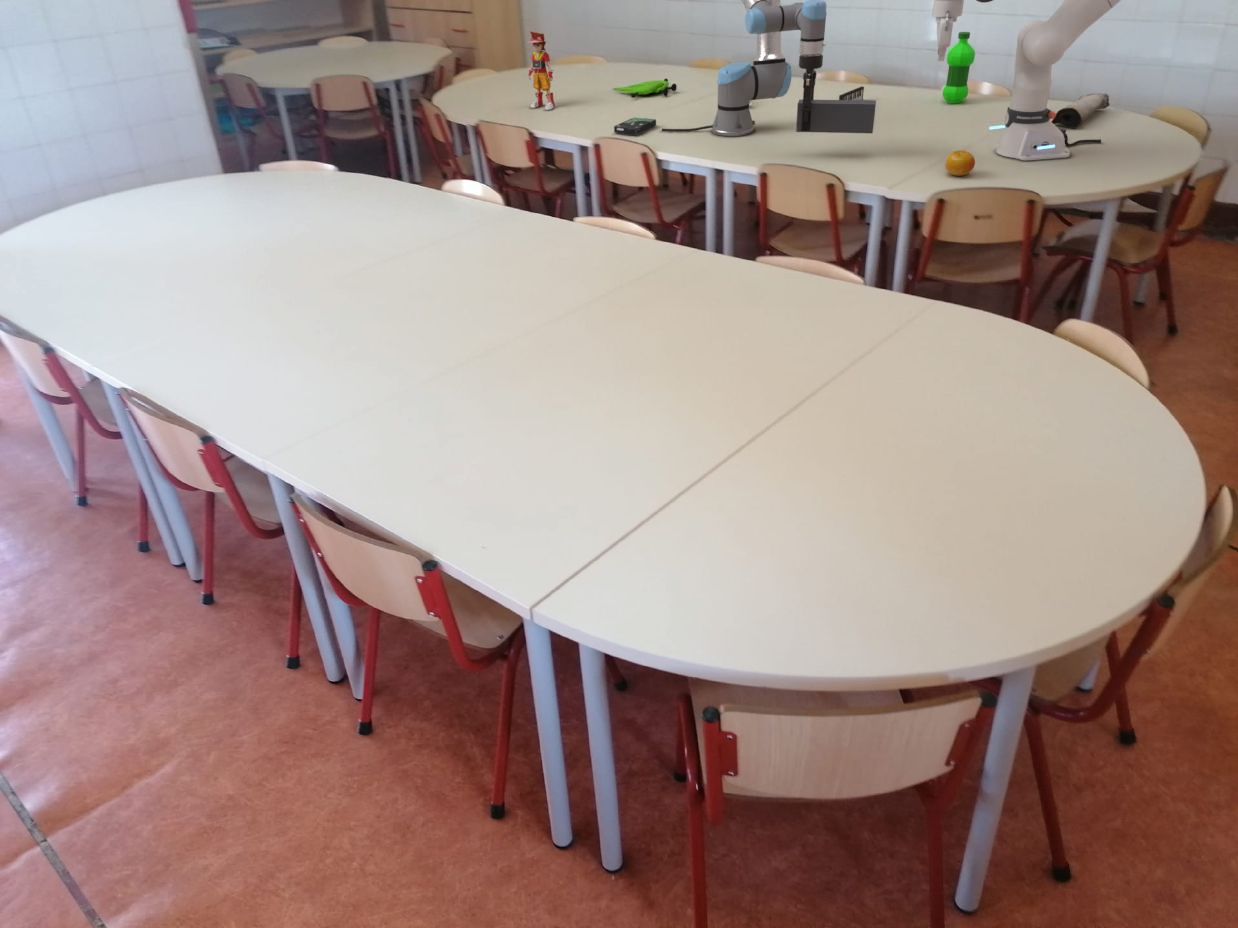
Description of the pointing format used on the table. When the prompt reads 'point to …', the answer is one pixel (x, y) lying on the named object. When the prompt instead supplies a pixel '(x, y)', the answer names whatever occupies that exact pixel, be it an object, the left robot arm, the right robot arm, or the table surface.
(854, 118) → the bar
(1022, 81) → the right robot arm
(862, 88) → the midi keyboard
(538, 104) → the toy
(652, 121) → the disk drive
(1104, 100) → the rolled mat
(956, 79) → the plastic bottle
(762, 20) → the left robot arm
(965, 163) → the fruit
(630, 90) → the toy
